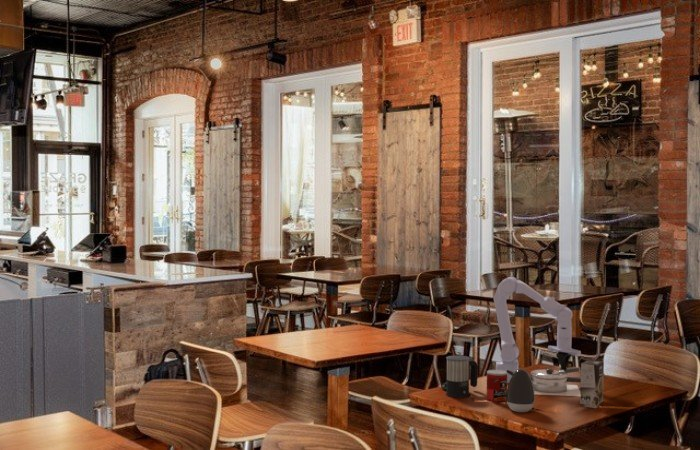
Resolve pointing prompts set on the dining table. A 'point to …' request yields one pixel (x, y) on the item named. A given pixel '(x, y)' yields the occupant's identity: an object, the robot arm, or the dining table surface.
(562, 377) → the lid
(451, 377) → the milk frother
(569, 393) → the board
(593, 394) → the coffee box
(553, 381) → the pot
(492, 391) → the canned food
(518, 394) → the pump dispenser
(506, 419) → the dining table surface
